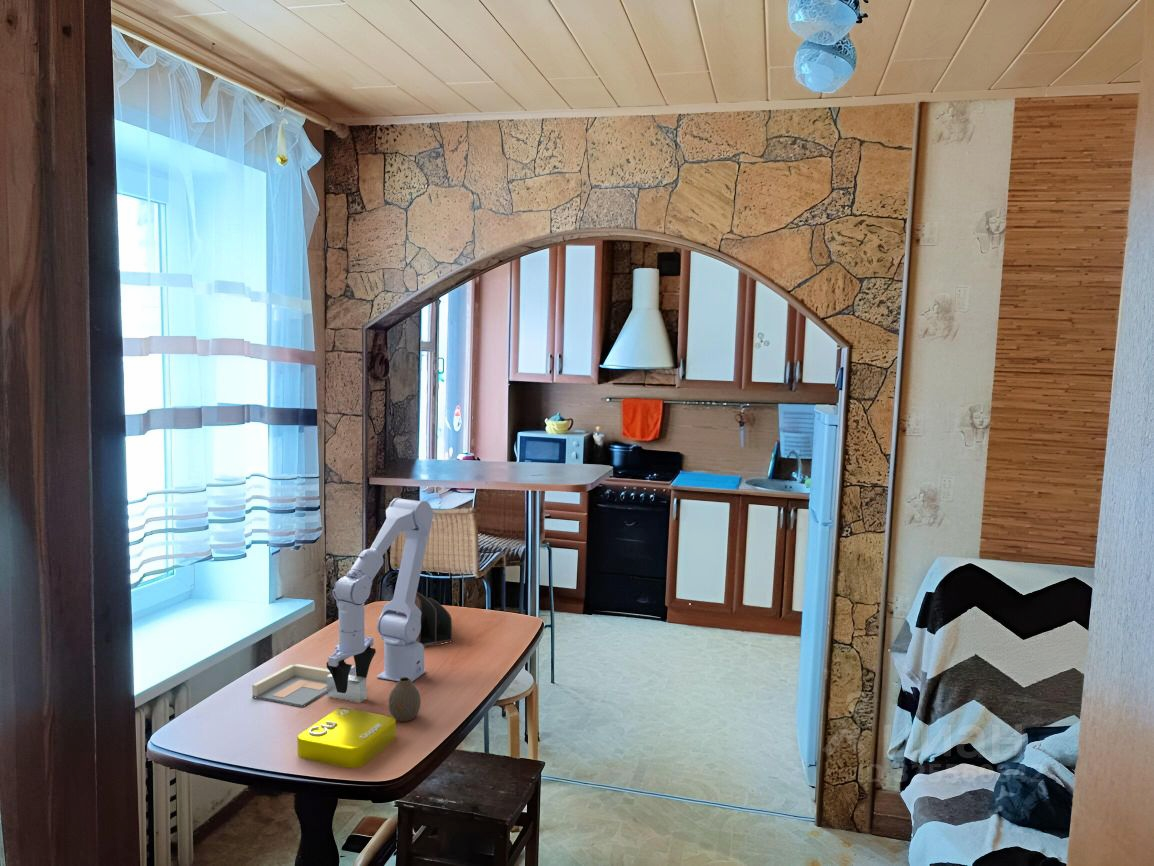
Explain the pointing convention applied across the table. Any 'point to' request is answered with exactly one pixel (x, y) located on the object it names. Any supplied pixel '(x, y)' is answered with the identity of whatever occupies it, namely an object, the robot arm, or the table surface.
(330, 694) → the bracket
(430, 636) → the letter holder
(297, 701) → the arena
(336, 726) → the element tile
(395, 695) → the vase
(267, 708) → the table surface
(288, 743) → the table surface
